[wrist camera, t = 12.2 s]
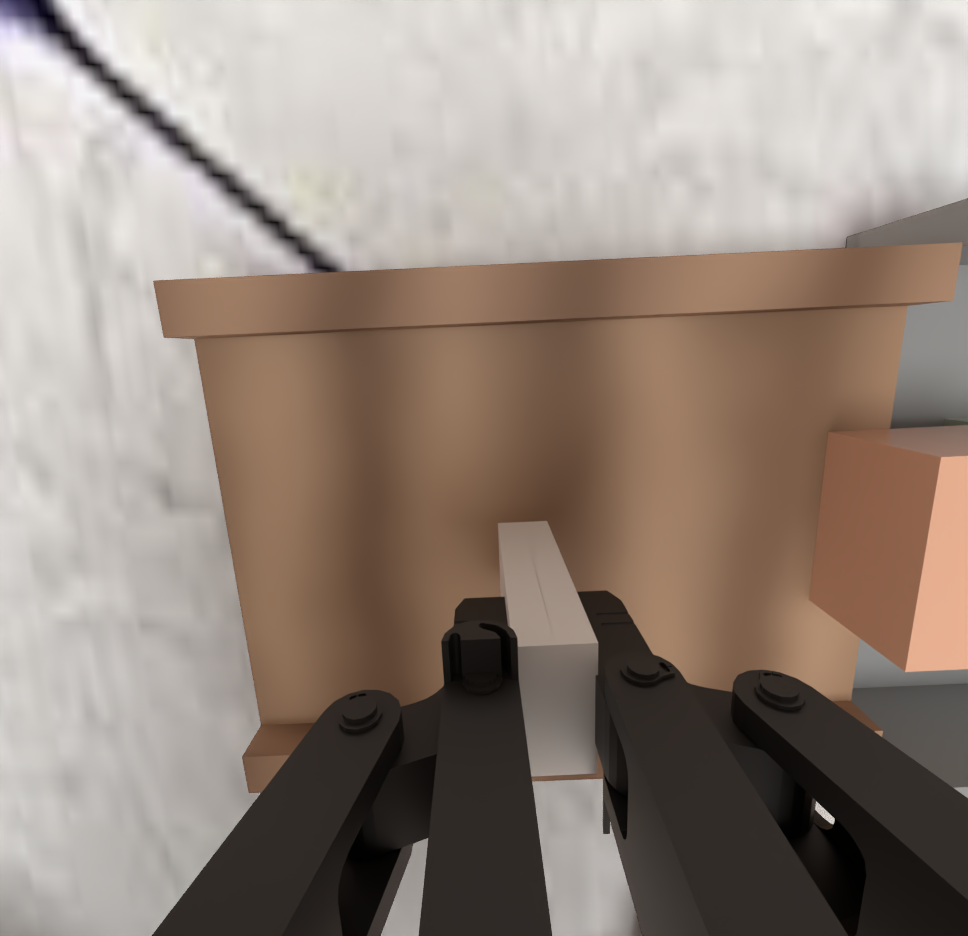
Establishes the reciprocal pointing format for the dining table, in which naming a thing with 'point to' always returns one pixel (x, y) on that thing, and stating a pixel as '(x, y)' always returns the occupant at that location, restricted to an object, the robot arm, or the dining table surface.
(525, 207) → the dining table surface
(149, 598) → the dining table surface
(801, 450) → the wooden tray
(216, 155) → the dining table surface
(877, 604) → the tile
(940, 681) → the box
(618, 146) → the dining table surface
